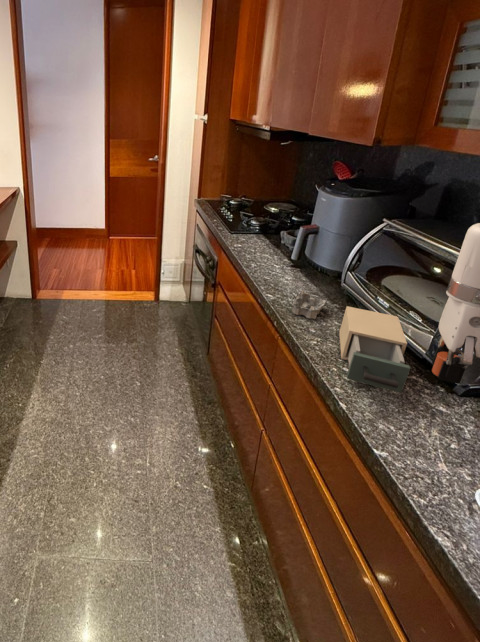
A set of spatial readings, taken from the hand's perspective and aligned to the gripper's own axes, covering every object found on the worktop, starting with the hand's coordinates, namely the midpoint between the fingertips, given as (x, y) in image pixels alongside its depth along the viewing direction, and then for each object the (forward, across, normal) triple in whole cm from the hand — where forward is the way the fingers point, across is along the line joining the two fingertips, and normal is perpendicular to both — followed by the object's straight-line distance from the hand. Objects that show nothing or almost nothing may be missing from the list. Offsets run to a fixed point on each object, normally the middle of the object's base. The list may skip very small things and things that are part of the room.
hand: (445, 372), depth 77 cm
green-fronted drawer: (+9, +7, +10) cm, 15 cm away
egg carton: (+10, +35, +24) cm, 43 cm away
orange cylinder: (0, 0, 0) cm, 0 cm away
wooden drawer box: (+10, +19, +10) cm, 23 cm away
